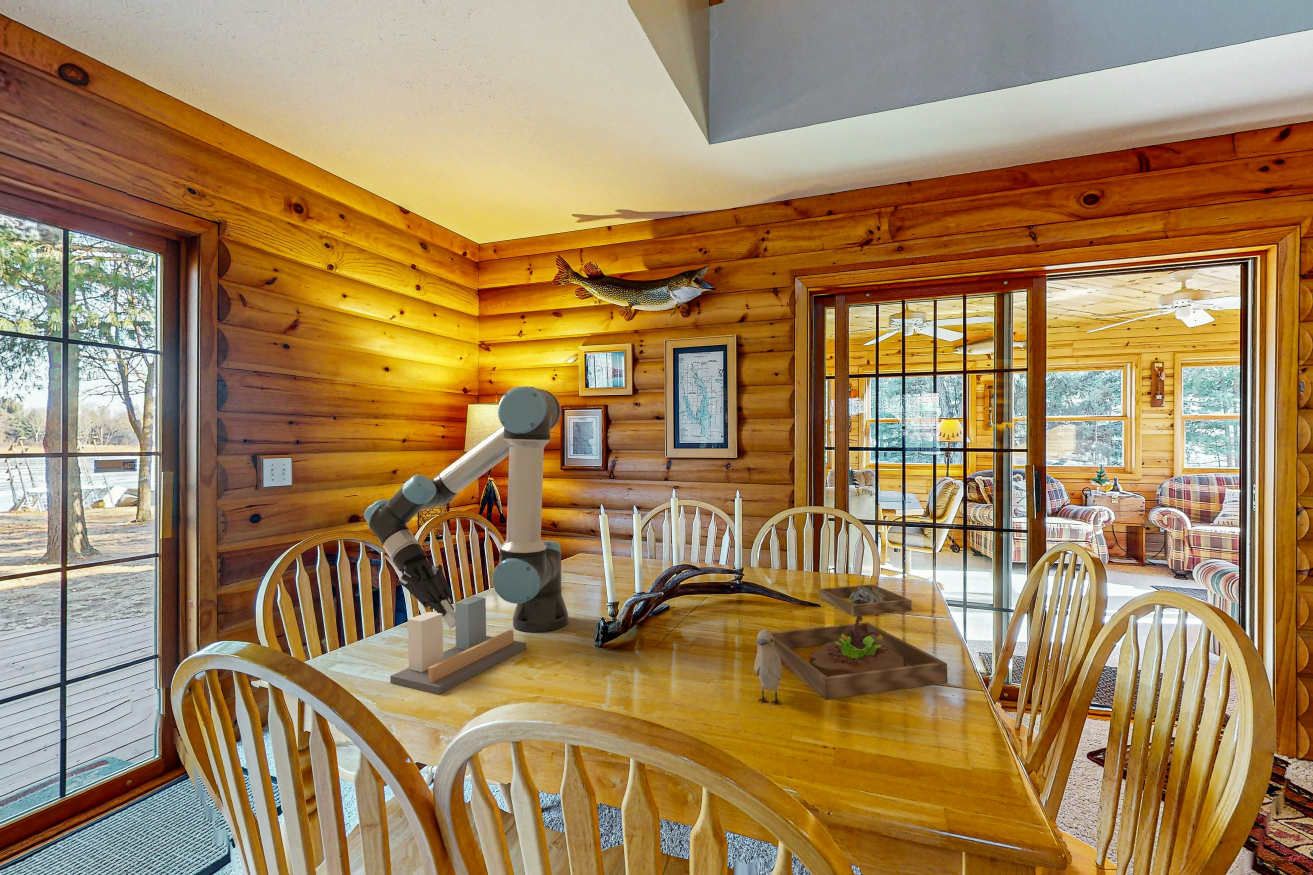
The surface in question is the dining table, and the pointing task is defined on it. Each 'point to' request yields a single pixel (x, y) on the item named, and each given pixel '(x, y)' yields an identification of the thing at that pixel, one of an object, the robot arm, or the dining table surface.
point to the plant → (855, 654)
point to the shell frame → (891, 605)
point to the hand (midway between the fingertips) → (455, 624)
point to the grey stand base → (460, 664)
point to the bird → (767, 664)
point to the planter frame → (917, 675)
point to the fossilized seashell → (865, 596)
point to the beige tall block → (425, 641)
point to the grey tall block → (470, 622)
